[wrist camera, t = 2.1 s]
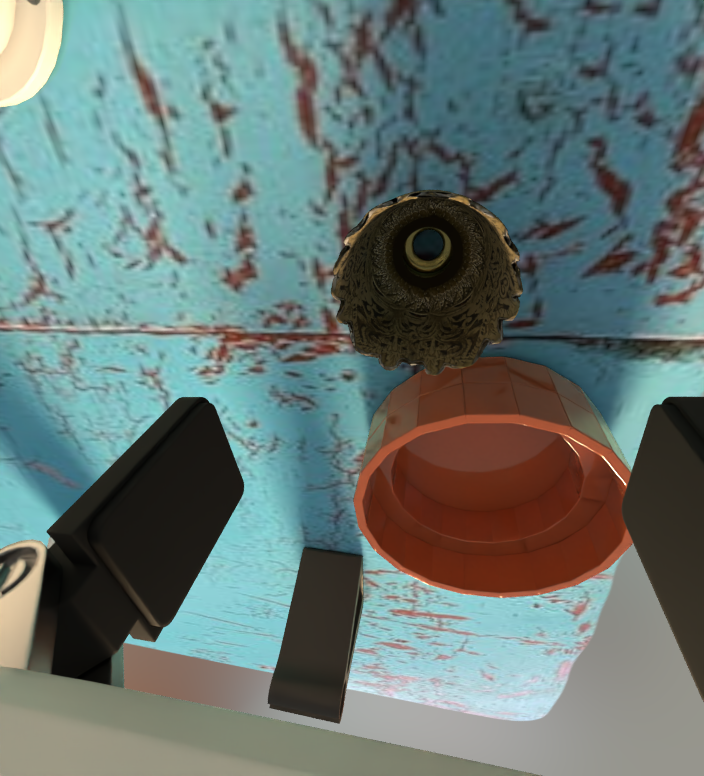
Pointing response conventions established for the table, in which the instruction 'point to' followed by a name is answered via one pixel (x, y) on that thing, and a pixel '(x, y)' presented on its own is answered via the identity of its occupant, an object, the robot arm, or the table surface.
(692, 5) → the table surface
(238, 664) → the table surface
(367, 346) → the cup
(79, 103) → the table surface
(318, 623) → the door stopper
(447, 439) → the bowl
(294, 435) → the table surface
